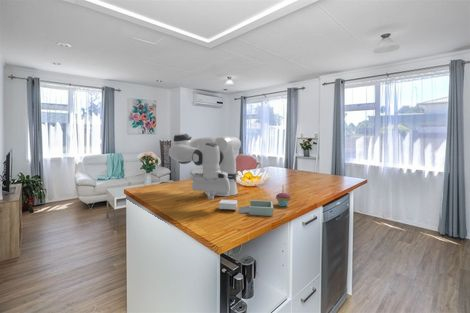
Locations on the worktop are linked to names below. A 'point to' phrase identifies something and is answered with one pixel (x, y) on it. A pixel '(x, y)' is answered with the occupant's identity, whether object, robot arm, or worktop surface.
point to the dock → (258, 208)
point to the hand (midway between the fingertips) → (210, 199)
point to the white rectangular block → (228, 204)
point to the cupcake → (283, 198)
